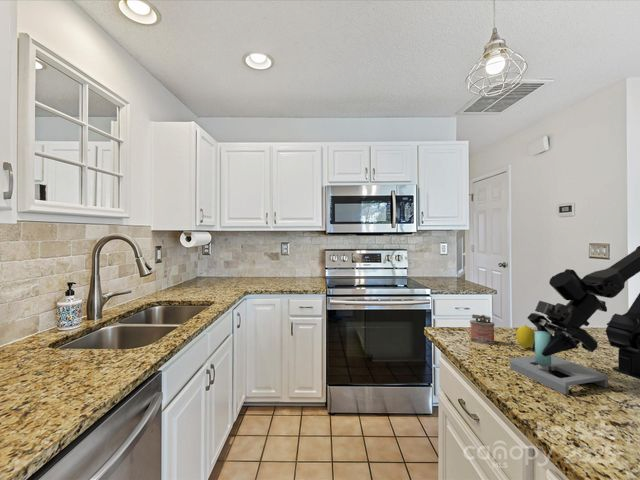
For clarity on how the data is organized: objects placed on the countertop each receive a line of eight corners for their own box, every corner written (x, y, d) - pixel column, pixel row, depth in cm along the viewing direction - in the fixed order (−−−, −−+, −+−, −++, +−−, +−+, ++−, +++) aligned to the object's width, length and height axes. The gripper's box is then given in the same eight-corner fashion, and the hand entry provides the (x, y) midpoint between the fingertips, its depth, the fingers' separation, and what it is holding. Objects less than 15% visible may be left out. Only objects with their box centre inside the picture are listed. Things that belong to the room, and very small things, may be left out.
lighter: (495, 342, 115) (494, 315, 115) (494, 345, 112) (493, 317, 112) (470, 339, 119) (470, 312, 119) (469, 341, 116) (469, 314, 116)
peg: (542, 372, 89) (541, 329, 89) (557, 378, 84) (556, 334, 84) (529, 374, 87) (529, 331, 87) (544, 380, 83) (543, 336, 83)
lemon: (517, 344, 112) (517, 322, 112) (536, 347, 108) (535, 324, 108) (515, 349, 108) (514, 325, 108) (534, 352, 104) (534, 328, 104)
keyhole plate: (547, 363, 95) (547, 353, 95) (607, 386, 80) (607, 375, 80) (510, 368, 92) (510, 358, 92) (565, 394, 76) (565, 382, 76)
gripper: (533, 286, 95) (497, 323, 95) (585, 297, 77) (540, 343, 77) (559, 311, 95) (523, 348, 95) (617, 329, 77) (573, 375, 77)
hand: (538, 352), depth 86 cm, fingers closed on peg, 4 cm apart
